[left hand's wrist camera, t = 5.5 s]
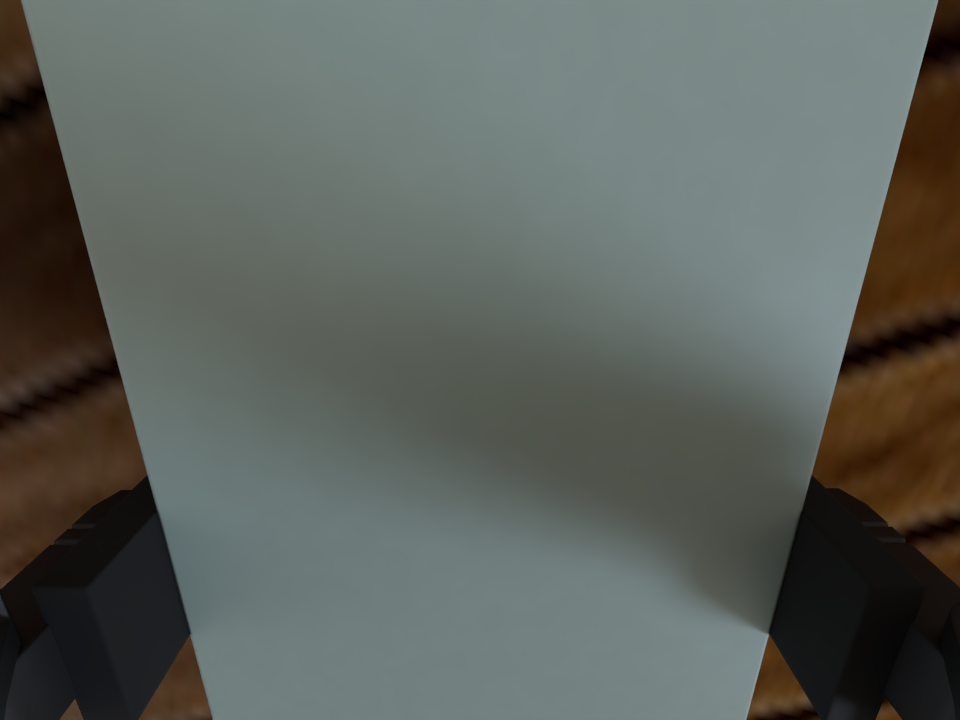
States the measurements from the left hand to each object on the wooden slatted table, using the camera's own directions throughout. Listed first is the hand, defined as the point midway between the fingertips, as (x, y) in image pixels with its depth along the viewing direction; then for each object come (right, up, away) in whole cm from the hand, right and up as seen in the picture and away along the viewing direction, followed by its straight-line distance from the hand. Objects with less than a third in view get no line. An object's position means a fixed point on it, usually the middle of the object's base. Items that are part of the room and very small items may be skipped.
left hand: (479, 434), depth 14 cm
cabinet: (0, +7, +2) cm, 7 cm away
